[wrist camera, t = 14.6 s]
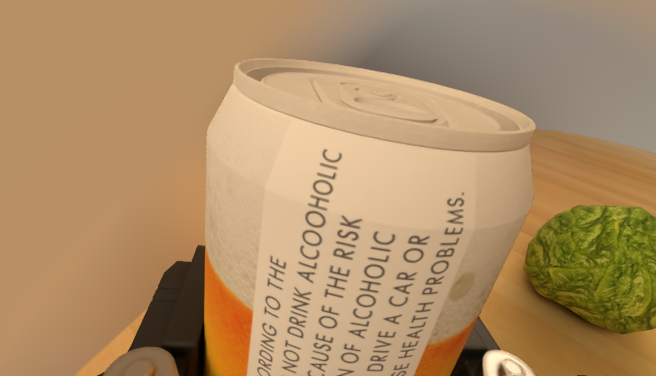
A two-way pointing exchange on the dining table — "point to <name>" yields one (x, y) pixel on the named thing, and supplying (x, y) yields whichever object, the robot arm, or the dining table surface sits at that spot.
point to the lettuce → (598, 265)
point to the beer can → (354, 220)
